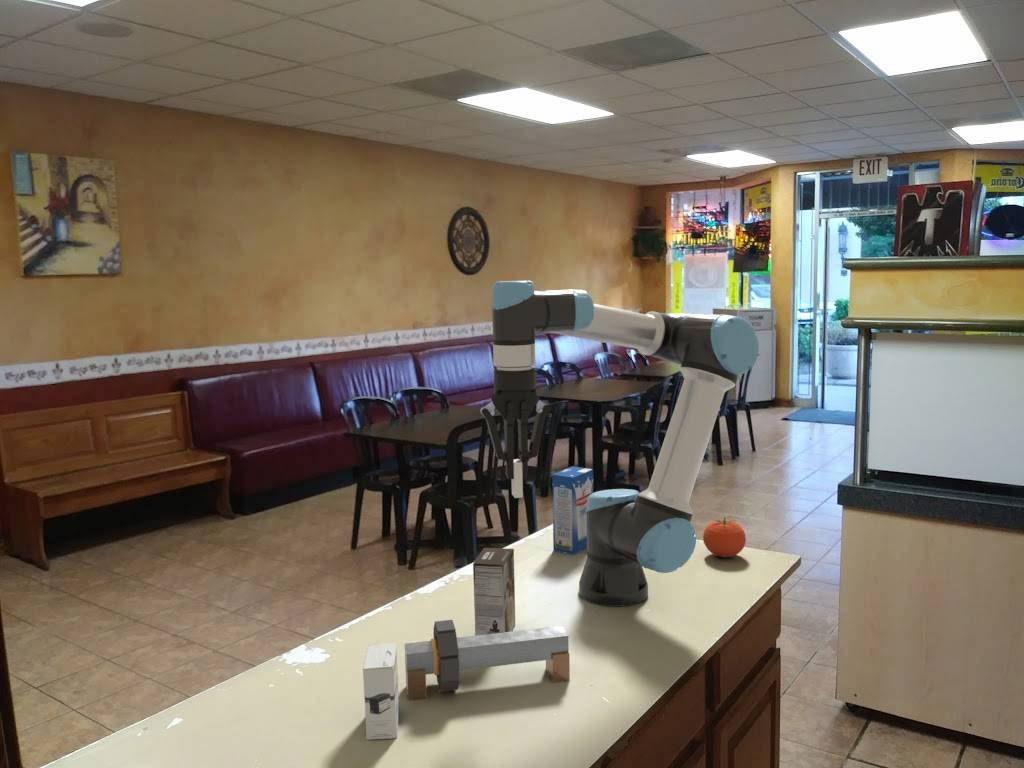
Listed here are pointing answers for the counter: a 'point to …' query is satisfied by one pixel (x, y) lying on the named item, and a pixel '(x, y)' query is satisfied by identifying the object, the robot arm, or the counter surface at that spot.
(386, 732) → the ink box
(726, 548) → the tomato
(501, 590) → the coffee box
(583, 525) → the milk carton
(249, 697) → the counter surface
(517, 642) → the pipe
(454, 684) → the gray octagonal collar
